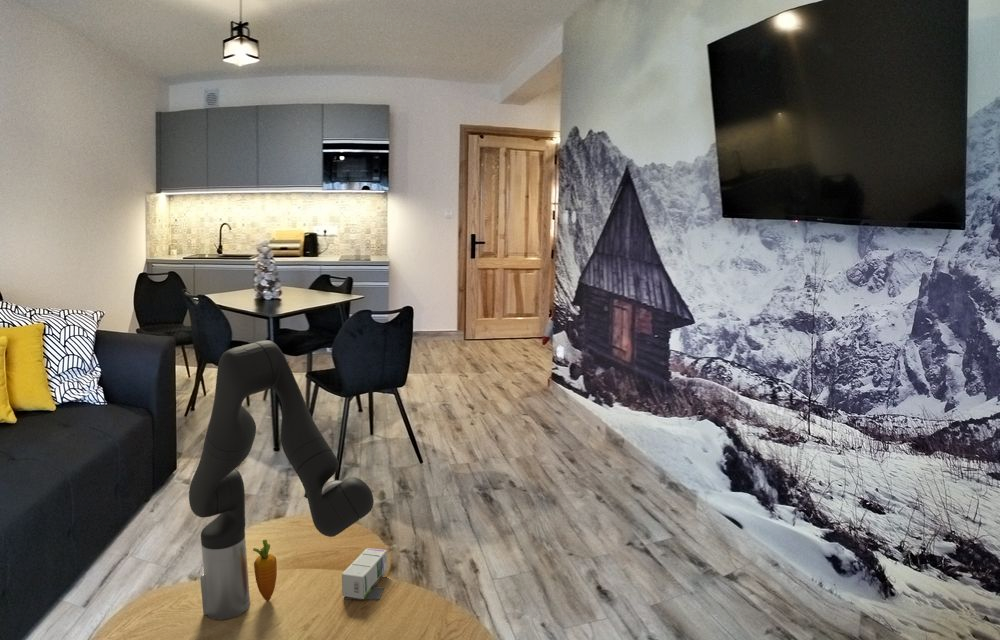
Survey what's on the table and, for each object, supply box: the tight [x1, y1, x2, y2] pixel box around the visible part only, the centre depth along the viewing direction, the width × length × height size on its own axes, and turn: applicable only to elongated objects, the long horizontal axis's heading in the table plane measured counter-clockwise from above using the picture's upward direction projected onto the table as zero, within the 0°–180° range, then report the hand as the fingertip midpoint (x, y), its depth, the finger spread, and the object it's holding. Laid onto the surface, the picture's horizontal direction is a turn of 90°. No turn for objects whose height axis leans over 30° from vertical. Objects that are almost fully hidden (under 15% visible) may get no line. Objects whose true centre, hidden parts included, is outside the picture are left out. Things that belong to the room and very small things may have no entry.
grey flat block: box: [343, 587, 384, 601], centre depth 156 cm, size 8×4×1 cm, turn 88°
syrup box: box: [341, 547, 388, 600], centre depth 160 cm, size 6×6×14 cm
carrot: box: [252, 539, 278, 602], centre depth 152 cm, size 5×5×15 cm
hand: (333, 495), depth 143 cm, fingers closed
